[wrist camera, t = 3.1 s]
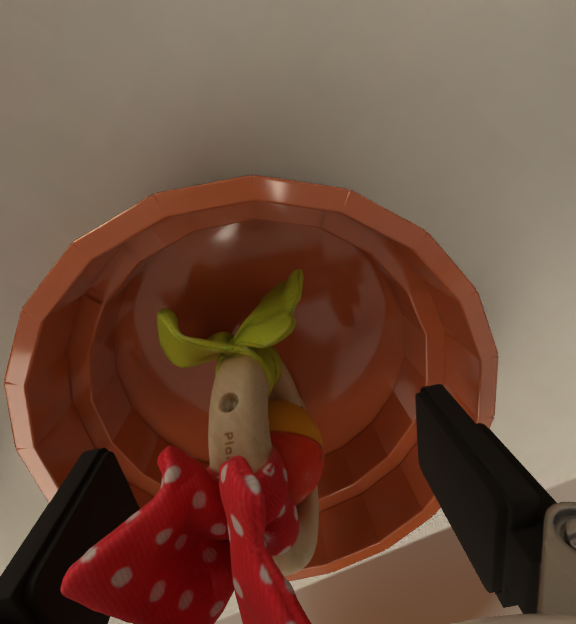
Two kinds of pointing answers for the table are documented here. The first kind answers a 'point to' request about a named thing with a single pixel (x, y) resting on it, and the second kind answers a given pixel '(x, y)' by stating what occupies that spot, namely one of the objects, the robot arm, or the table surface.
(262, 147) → the table surface
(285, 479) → the bird rattle
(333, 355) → the bowl
